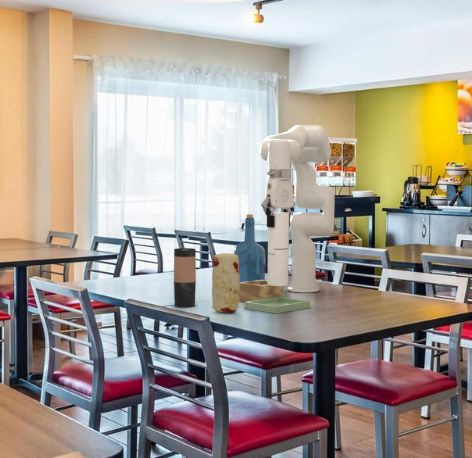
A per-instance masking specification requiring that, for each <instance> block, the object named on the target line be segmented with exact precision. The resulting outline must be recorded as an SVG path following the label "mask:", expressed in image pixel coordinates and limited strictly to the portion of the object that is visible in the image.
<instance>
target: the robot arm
mask: <svg viewBox="0 0 472 458" xmlns="http://www.w3.org/2000/svg"><path fill="white" fill-rule="evenodd" d="M330 143H331V142H330V139H329V137H328V133H327V131H326V129H325V128H324V127H323V126H321V125H320V124H299V125H294V126H293V127H291V128H290V129H289V130H288V131H285V132H280V133H277V134H273V135H269V136H267V137H265V138H264V139H263V140H262V142H261V143H260V146H259V154H260V157H261V159H262V160H263V161H264V162H265V161H266V162H267V169H268V170H267V172H266V174H267V179H266V185H265V193H264V197H265V198H264V200H263V201H262V202H261V204H260V206H261V208H262V209H263V212H264V214H265V216H266V228H268V227H275V216H273V214H274V212H276V209H281V212H288V213H289V228H290V233H291V286H288V287H287V291H289V292H293V293H318V292H319V291H320V287H318V285H322V284H323V280H322V279H318V278H316V275H317V274H316V272H317V271H316V270H317V269H316V267H317V266H316V265H317V263H316V261H317V259H316V258H317V249H316V248H317V247H316V244H315V243H314V242H313V240H312V239H311V237H330V236H332V234H333V233H334V228H335V203H336V201H335V192H334V189H333V188H332V186H330V185H323V184H322V185H321V184H319V185H317V171H316V169H315V168H314V166H313V165H312V164H311V163H327V162H328V161H329V160H330V159H331V156H332V147H331V144H330ZM291 166H292V168H293V170H294V178H295V179H294V188H293V181H292V179H291ZM295 206H296V207H297V208H298V209H303V210H321V211H322V212H313V211H312V212H311V211H300V212H295V213H293V214H292V212H293V211H294V208H296V207H295Z"/></svg>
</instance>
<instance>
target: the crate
mask: <svg viewBox="0 0 472 458" xmlns="http://www.w3.org/2000/svg"><path fill="white" fill-rule="evenodd" d="M274 297H284V286H271V285H268V280H266V279H265V280H256V281H247V282H240V290H239V302H238V303H244V304H245V302H248V301H254V300H261V299H268V298H274Z"/></svg>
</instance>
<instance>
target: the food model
mask: <svg viewBox="0 0 472 458" xmlns="http://www.w3.org/2000/svg"><path fill="white" fill-rule="evenodd" d="M211 272H212V273H211V274H212V275H211V299H212V305H211V306H212V309H213V310H214V311H215V312H218V313H219V312H220V313H228V314H232V313H236V312H237V310H238V308H239V307H238V306H239V303H240V302H239V290H240V275H239V258H238V256H237V255H235V254H234V253H229V252H227V253H226V252H222V253H221V252H220V253H216V254H214V255H213V256H212V271H211Z"/></svg>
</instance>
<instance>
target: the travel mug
mask: <svg viewBox="0 0 472 458" xmlns="http://www.w3.org/2000/svg"><path fill="white" fill-rule="evenodd" d="M196 253H197V252H196V248H193V247H179V248H178V247H177V248H174V249H173V298H174V307H176V308H193V307H195V306H196V289H197V287H196V286H197V284H196V283H197V270H196V269H197V265H196V262H197V261H196V259H197V258H196V256H197V255H196Z"/></svg>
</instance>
